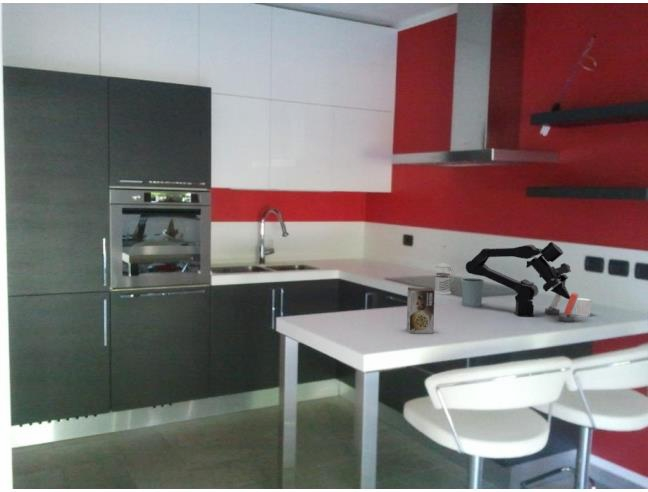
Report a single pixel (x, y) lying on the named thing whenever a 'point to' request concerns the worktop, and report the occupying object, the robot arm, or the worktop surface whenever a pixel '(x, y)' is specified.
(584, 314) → the shot glass
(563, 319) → the dark rounded piece
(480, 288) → the grey green cup
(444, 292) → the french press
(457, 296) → the worktop surface
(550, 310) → the grey switch base
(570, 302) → the block
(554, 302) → the block
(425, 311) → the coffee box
